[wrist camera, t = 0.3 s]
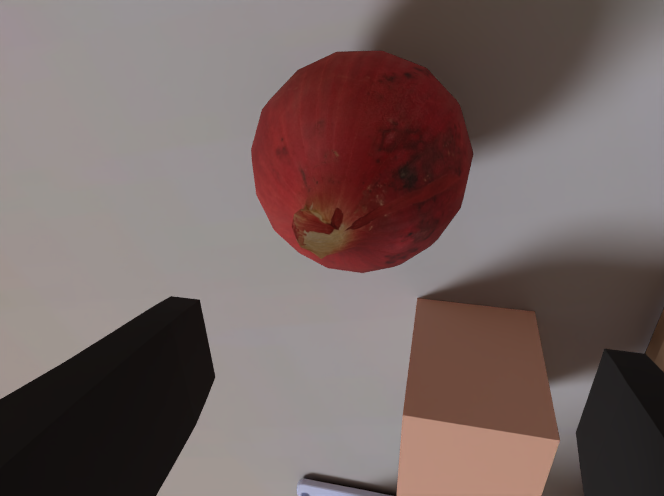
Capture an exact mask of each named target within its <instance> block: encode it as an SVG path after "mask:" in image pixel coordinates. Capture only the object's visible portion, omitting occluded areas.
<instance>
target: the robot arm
mask: <svg viewBox="0 0 664 496" xmlns="http://www.w3.org/2000/svg"><path fill="white" fill-rule="evenodd" d="M214 379H215V373H214V368H213V363H212V358H211V353H210V348H209V343H208V338H207V333H206V328H205V323H204V319H203V314H202V309H201V304H200V300H197V299H189V298H180V297H172V296H171V297H169V298H167V299H165V300H164V301H162V302H160V303H158V304H157V305H155V306H153V307H152V308H150V309H148V310H147V311H145V312H144V313H142V314H140V315H139V316H137V317H136V318H134V319H132V320H131V321H129V322H128V323H126V324H125V325H123V326H121V327H120V328H118V329H117V330H115V331H114V332H112V333H110V334H109V335H107V336H106V337H104V338H102V339H101V340H99V341H98V342H96V343H94V344H93V345H91V346H90V347H88V348H86V349H85V350H83V351H82V352H80V353H78V354H77V355H75V356H74V357H72V358H70V359H69V360H67V361H66V362H64V363H62V364H60V365H59V366H57V367H55V368H54V369H52V370H50V371H48V372H47V373H45V374H43V375H42V376H40V377H38V378H36V379H35V380H33V381H31V382H29V383H28V384H26V385H24V386H23V387H21V388H19V389H17V390H16V391H14V392H12V393H11V394H9V395H7V396H5V397H4V398H2V399H0V496H156V495H157V493H158V491H159V490H160V488H161V486H162V484H163V483H164V481H165V479H166V477H167V476H168V474H169V472H170V470H171V469H172V467H173V465H174V463H175V462H176V460H177V458H178V456H179V454H180V453H181V451H182V449H183V447H184V445H185V444H186V442H187V440H188V438H189V436H190V435H191V433H192V431H193V429H194V427H195V425H196V423H197V421H198V419H199V416H200V414H201V411H202V409H203V407H204V404H205V402H206V399H207V397H208V394H209V392H210V389H211V387H212V384H213V382H214ZM576 437H577V445H578V453H579V462H580V469H581V476H582V483H583V490H584V495H585V496H664V372H663V371H662V370H661V369H660V368H659V367H658V366H657V365H656V364H655V363H654V362H653V361H652V360H651V359H650V358H649V357H648V356H647V355H646V354H642V353H634V352H626V351H618V350H609V349H604V352H603V355H602V358H601V361H600V364H599V367H598V370H597V373H596V375H595V378H594V381H593V384H592V387H591V390H590V393H589V396H588V399H587V402H586V405H585V407H584V410H583V413H582V416H581V419H580V422H579V425H578V428H577V431H576ZM297 495H298V496H392V495H387V494H382V493H376V492H371V491H366V490H361V489H356V488H351V487H346V486H340V485H335V484H330V483H325V482H320V481H315V480H309V479H301V480H299V482H298V485H297Z"/></svg>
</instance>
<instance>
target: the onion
mask: <svg viewBox="0 0 664 496" xmlns="http://www.w3.org/2000/svg"><path fill="white" fill-rule="evenodd" d="M251 153H252V165H253V172H254V180H255V187H256V195H257V197H258V199H259V201H260V203H261V205H262V207H263V209H264V211H265V213H266V215H267V217H268V219H269V221H270V223H271V225H272V227H273V229H274V230H275V231H276V232H277V233H278V234H279V235H280V236H281V237H282V238H283V239H285V240H286V241H287V242H288V243H289V244H290V245H291V246H292V247H293V248H294V249H296V250H297V251H298V252H299V253H301V254H302V255H304V256H306V257H308V258H310V259H312V260H314V261H316V262H317V263H319V264H321V265H323V266H325V267H327V268H332V269H339V270H346V271H353V272H360V273H365V272H370V271H375V270H380V269H385V268H390V267H394V266H397V265H400V264H402V263H404V262H405V261H407V260H409V259H410V258H412V257H413V256H415V255H417V254H418V253H420V252H422V251H423V250H425V249H426V248H428V247H430V246H431V245H432V244H433V243H434V242H435V241H436V240H437V239H438V238H439V237H440V235H441V234H442V233H443V231H444V230H445V229H446V227H447V226H448V225H449V223H450V222H451V220H452V219H453V218H454V216H455V215H456V214H457V212H458V211H459V210H460V208H461V205H462V201H463V197H464V193H465V189H466V184H467V180H468V175H469V171H470V166H471V162H472V157H473V151H472V147H471V143H470V140H469V136H468V132H467V129H466V125H465V121H464V118H463V114H462V110H461V107H460V105H459V103H458V102H457V100H456V99H455V98H454V97H453V96H452V95H451V94H450V93H449V92H448V91H447V90H446V89H445V87H444V86H443V85H442V84H441V83H440V82H439V81H438V80H437V79H436V78H435V77H434V76H433V75H432V74H431V72H430V71H429V70H428V69H427V68H426V67H423V66H420V65H418V64H415V63H413V62H410V61H407V60H405V59H402V58H400V57H397V56H395V55H392V54H389V53H387V52H384V51H348V52H335V53H333V54H331V55H329V56H327V57H325V58H323V59H320V60H318V61H316V62H314V63H312V64H310V65H307V66H305V67H303V68H301V69H299V70H297V71H296V73H295V74H294V75H293V76H292V77H291V78H290V79H289V80H288V81H287V82H286V83H285V84H284V85H283V86H282V87H281V88H280V89H279V90H278V92H277V93H276V94H275V95H274V96H273V97H272V98H271V99H270V100H269V101H268V103H267V104H266V105H265V107H264V108H263V109H262V112H261V115H260V119H259V123H258V126H257V130H256V134H255V137H254V141H253V145H252V148H251Z"/></svg>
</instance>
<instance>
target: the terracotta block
mask: <svg viewBox="0 0 664 496" xmlns="http://www.w3.org/2000/svg"><path fill="white" fill-rule="evenodd" d="M559 442H560V438H559V433H558V428H557V423H556V418H555V413H554V408H553V402H552V397H551V392H550V387H549V382H548V377H547V372H546V367H545V361H544V356H543V351H542V346H541V341H540V336H539V331H538V326H537V320H536V315H535V312H534V311H525V310H517V309H508V308H499V307H490V306H482V305H473V304H464V303H456V302H447V301H438V300H429V299H421V298H417V306H416V314H415V322H414V330H413V338H412V346H411V354H410V362H409V370H408V378H407V386H406V394H405V402H404V410H403V420H402V432H401V445H400V458H399V470H398V483H397V496H541V495H542V492H543V489H544V486H545V483H546V480H547V477H548V475H549V472H550V469H551V466H552V463H553V460H554V457H555V454H556V451H557V448H558V445H559Z"/></svg>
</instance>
